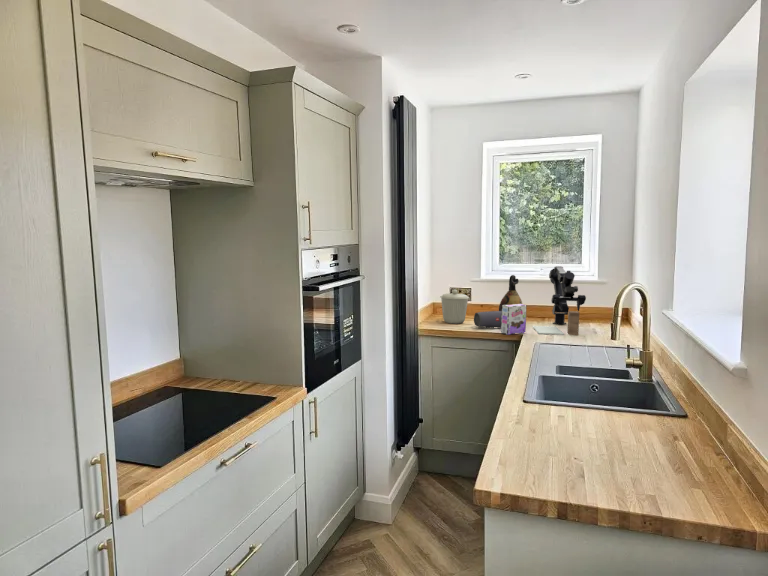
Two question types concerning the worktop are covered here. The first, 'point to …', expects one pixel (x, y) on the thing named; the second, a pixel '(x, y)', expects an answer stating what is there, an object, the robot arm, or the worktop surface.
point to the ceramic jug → (511, 294)
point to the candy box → (513, 319)
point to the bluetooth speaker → (488, 319)
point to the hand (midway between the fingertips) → (570, 310)
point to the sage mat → (548, 330)
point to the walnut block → (573, 322)
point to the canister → (454, 307)
